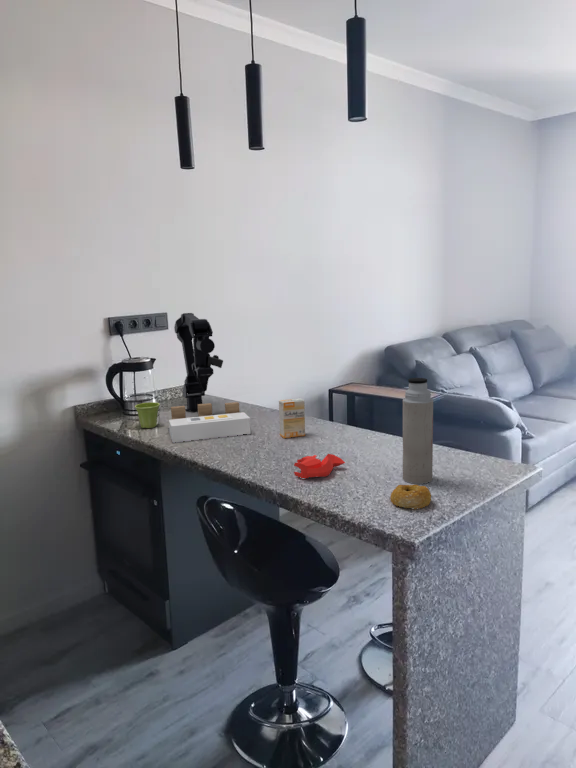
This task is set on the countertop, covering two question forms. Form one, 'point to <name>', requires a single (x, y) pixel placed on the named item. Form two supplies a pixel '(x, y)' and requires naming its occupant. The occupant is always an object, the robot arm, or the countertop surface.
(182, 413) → the key
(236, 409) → the key
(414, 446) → the thermos bottle
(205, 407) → the key middle
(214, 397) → the countertop surface
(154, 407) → the plant pot
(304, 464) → the animal figurine
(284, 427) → the supplement box
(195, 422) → the key console
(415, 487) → the bagel
